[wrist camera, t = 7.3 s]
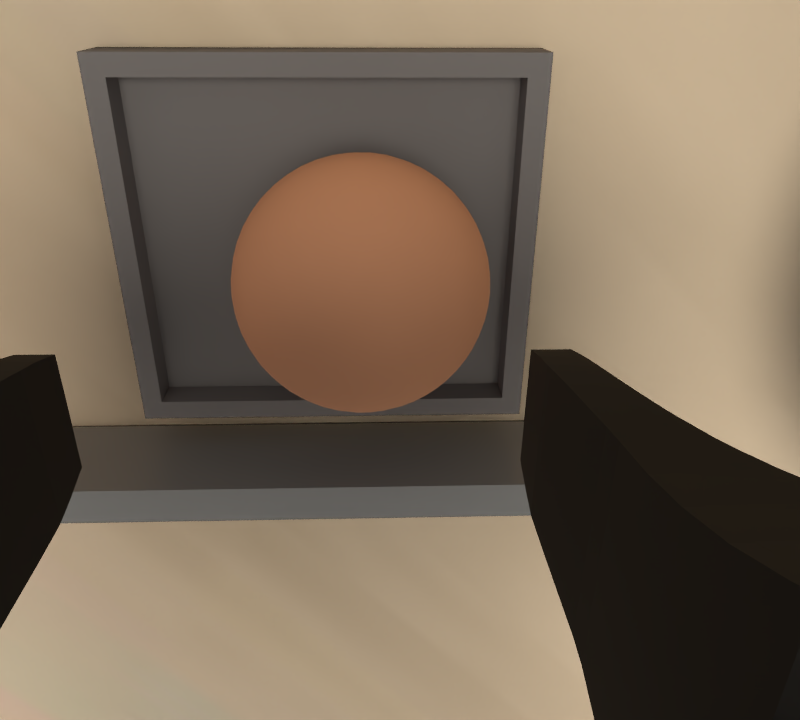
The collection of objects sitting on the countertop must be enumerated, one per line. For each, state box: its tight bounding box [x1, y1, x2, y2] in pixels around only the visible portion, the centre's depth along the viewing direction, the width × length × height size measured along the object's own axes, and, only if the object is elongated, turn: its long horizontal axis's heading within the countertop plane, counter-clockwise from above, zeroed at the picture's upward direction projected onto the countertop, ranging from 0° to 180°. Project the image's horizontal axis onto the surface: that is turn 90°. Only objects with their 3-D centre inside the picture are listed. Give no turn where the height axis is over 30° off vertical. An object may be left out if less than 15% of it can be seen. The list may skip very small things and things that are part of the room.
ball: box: [231, 152, 490, 413], centre depth 15 cm, size 6×6×6 cm
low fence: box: [61, 421, 531, 523], centre depth 20 cm, size 1×16×3 cm, turn 90°
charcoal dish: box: [77, 47, 553, 418], centre depth 18 cm, size 9×10×1 cm
